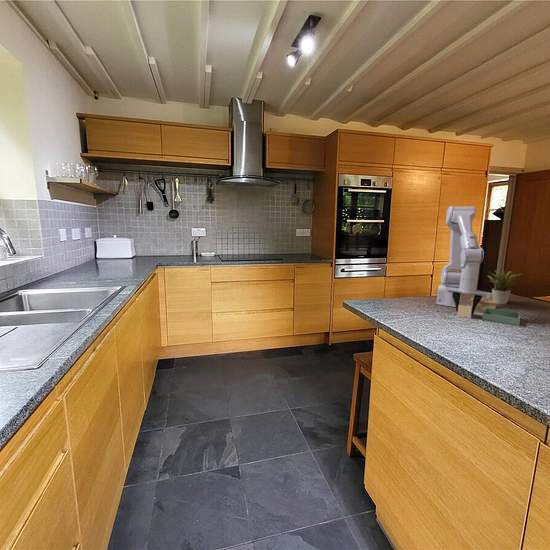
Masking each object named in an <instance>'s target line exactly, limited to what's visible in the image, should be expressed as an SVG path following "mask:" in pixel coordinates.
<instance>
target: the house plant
mask: <svg viewBox="0 0 550 550" xmlns="http://www.w3.org/2000/svg"><path fill="white" fill-rule="evenodd" d="M494 272H495V273H496V274H497V275H496V274H495V273H492V272H491V271H489V273H490V274H491V275H492V276H493V277H494V278H493V277H492V276H491V275H487V277H488V278H489V280H488V281H487V282H488V283H489V282H490V283H493V284H492V285H491V286H495V288H492V289H491V294H492V295H491V297H492V300H498V301H497V304H496V305H506V304H507V303H508V301H509V297H510V295H511V291H512V290H510V289H508V288H510V287H514V285H518V286H519V284H518V283H514V282H513V283H510V282H511V281H512V280H513V279H515V278H516V277H518V276H520V275H521V273H519V274H515V275H514V274H513V272H512V271H511V270H510V271H508V272H507V273H506V274H505V270H504V269H502V274H501V272H499V271H497V270H494Z"/></svg>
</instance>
